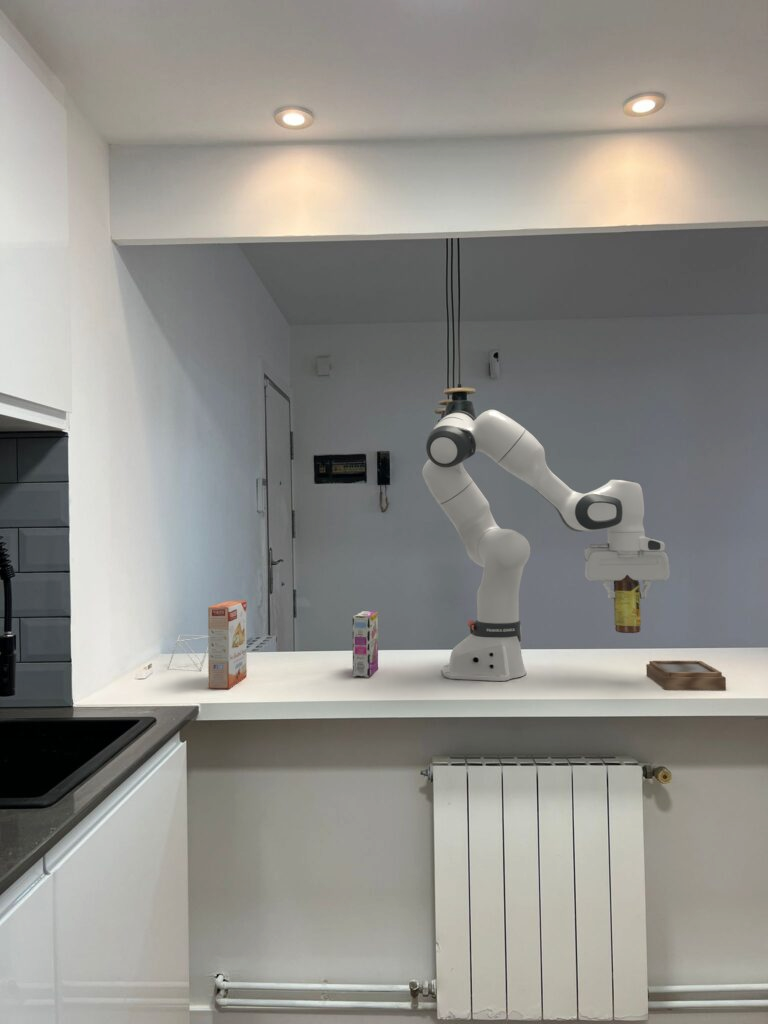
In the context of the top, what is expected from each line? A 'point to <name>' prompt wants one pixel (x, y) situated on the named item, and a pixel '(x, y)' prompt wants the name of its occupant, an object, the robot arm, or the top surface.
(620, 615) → the sauce bottle
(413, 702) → the top surface
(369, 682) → the top surface
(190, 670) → the geometric polyhedron
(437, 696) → the top surface
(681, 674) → the tray
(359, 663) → the candy bar box
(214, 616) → the cracker box
